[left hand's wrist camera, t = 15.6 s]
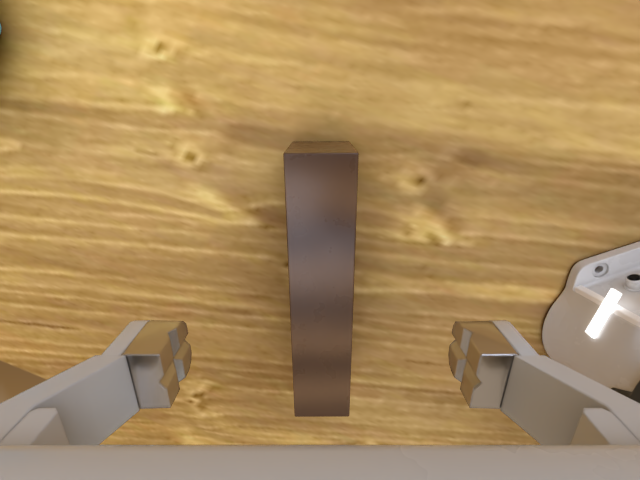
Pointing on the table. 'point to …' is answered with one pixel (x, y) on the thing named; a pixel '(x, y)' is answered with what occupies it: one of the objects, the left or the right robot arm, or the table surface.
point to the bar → (321, 272)
